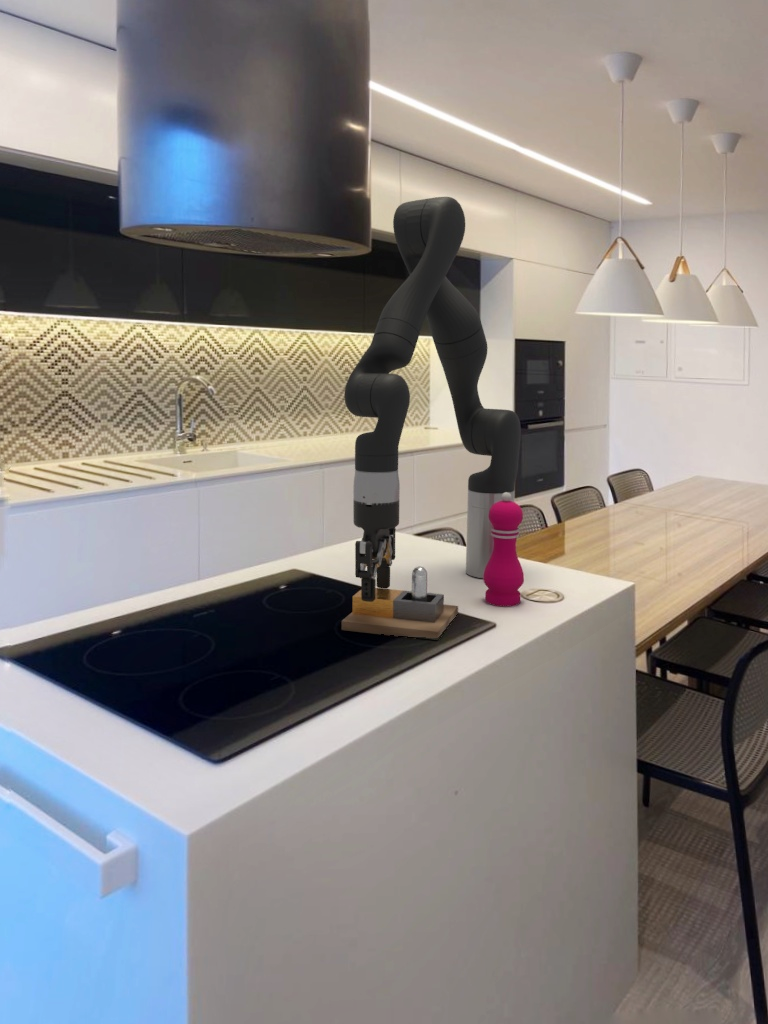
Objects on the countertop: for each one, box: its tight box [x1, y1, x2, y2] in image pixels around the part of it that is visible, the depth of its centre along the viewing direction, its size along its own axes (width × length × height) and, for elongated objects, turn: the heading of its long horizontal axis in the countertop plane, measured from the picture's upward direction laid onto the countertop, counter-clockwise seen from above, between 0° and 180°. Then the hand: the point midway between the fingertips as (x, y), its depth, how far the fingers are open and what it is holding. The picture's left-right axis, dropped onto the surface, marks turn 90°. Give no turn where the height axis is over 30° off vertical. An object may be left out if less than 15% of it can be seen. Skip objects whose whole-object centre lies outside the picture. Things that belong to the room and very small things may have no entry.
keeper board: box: [341, 604, 459, 638], centre depth 136 cm, size 14×16×2 cm
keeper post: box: [411, 566, 428, 602], centre depth 134 cm, size 2×2×8 cm
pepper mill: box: [482, 492, 525, 607], centre depth 146 cm, size 7×7×20 cm
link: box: [352, 587, 445, 623], centre depth 136 cm, size 6×14×3 cm, turn 72°
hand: (376, 593), depth 137 cm, fingers open, 7 cm apart
